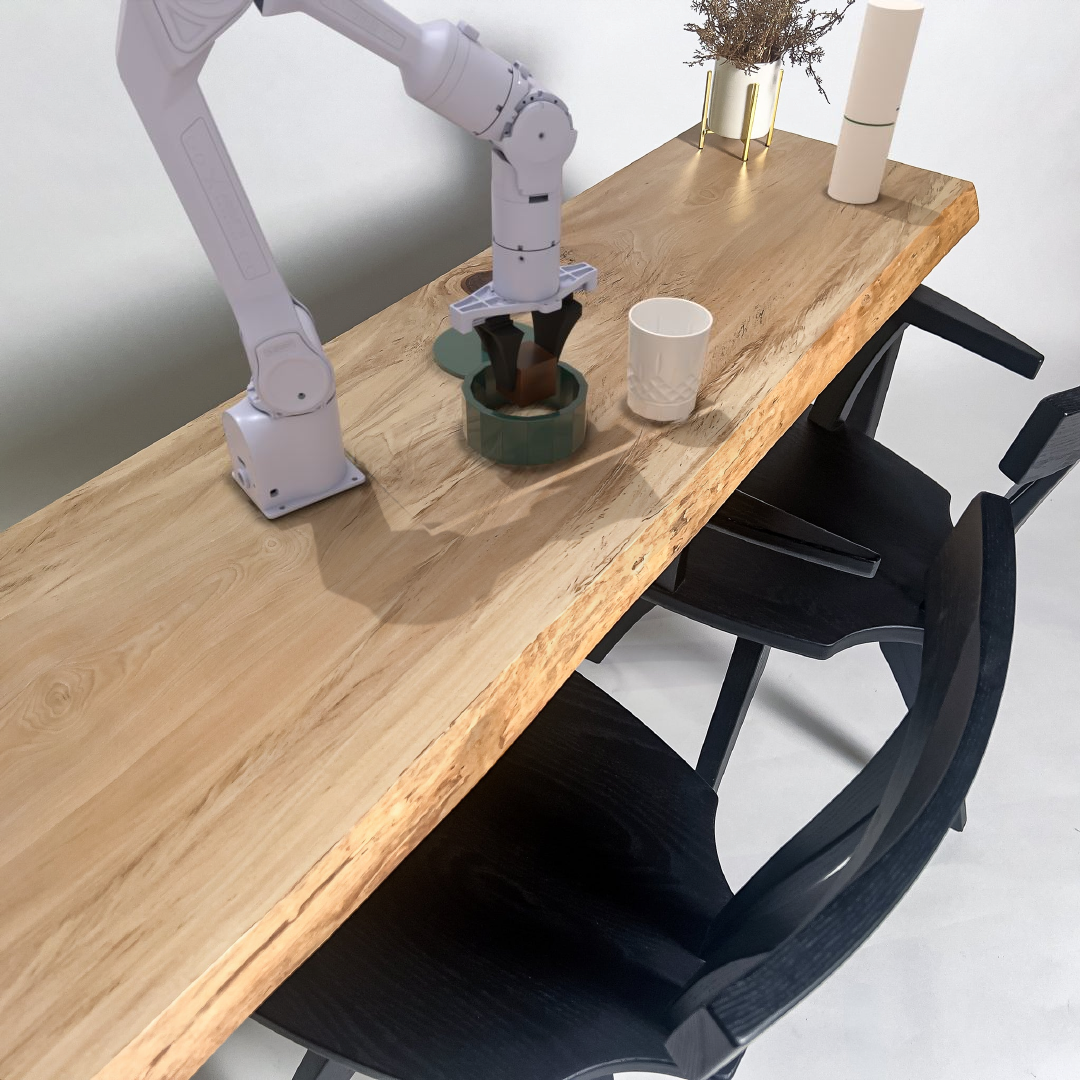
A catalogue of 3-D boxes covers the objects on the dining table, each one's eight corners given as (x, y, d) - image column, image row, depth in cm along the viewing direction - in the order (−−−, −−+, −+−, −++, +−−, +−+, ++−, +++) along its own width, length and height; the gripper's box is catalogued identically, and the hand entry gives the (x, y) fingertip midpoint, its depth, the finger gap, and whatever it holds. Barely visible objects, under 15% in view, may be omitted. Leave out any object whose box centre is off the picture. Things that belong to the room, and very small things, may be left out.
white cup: (642, 378, 101) (651, 290, 95) (712, 400, 98) (726, 310, 92) (607, 413, 96) (614, 322, 90) (679, 437, 93) (692, 344, 87)
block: (521, 408, 88) (521, 370, 85) (495, 389, 90) (495, 352, 88) (555, 395, 90) (557, 357, 87) (530, 376, 92) (530, 339, 90)
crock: (510, 485, 87) (510, 435, 83) (441, 426, 94) (438, 378, 90) (609, 442, 92) (613, 393, 89) (536, 389, 99) (537, 342, 96)
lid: (476, 400, 98) (475, 356, 94) (410, 349, 105) (407, 306, 102) (575, 363, 103) (577, 320, 100) (505, 317, 111) (505, 275, 108)
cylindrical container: (883, 192, 143) (931, 2, 127) (868, 207, 138) (916, 12, 122) (836, 182, 146) (877, -5, 129) (820, 196, 141) (860, 4, 125)
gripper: (481, 276, 75) (485, 424, 83) (624, 233, 81) (613, 373, 90) (432, 245, 79) (440, 389, 88) (571, 206, 86) (566, 343, 94)
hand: (525, 379), depth 89 cm, fingers closed on block, 4 cm apart
